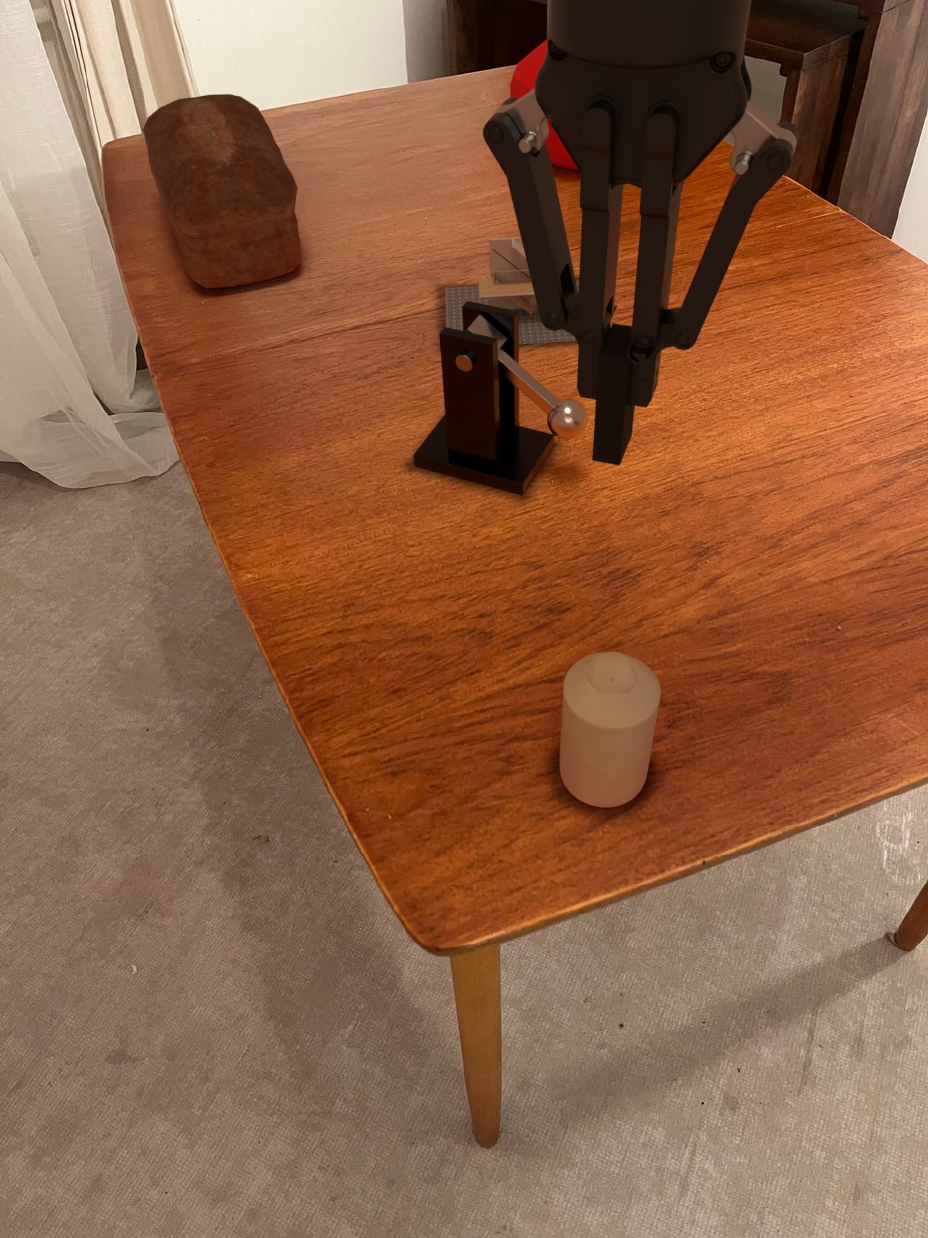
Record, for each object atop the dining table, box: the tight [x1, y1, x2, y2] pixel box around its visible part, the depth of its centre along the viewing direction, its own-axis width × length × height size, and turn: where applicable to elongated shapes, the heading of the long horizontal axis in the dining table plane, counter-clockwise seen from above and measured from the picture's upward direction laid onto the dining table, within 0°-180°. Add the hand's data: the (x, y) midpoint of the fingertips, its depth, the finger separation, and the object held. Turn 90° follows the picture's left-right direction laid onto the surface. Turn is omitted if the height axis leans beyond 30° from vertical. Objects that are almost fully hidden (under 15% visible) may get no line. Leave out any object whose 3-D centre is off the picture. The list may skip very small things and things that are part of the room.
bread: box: [142, 93, 303, 289], centre depth 108 cm, size 14×28×12 cm, turn 19°
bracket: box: [412, 301, 555, 495], centre depth 79 cm, size 10×7×13 cm
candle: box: [559, 651, 662, 808], centre depth 58 cm, size 6×6×10 cm
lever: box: [466, 315, 589, 441], centre depth 76 cm, size 12×3×3 cm
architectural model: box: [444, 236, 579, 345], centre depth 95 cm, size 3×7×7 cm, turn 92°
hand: (612, 447), depth 52 cm, fingers closed
